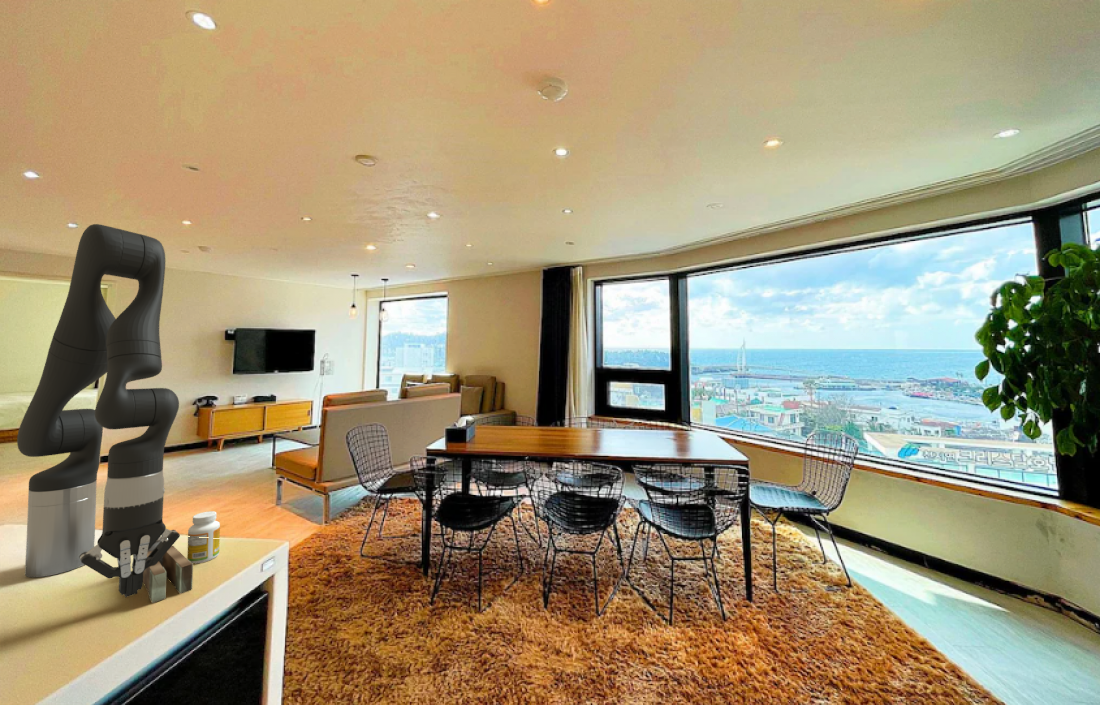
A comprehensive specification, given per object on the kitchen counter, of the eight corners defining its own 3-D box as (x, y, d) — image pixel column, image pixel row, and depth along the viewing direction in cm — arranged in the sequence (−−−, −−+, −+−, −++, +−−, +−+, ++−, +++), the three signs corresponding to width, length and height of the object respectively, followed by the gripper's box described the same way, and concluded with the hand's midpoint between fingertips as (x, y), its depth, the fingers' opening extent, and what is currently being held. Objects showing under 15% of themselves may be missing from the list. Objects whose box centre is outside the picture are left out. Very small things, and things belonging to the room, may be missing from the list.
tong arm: (139, 578, 80) (140, 553, 80) (152, 575, 81) (153, 550, 81) (151, 603, 72) (152, 575, 72) (165, 598, 73) (166, 571, 73)
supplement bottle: (211, 550, 92) (212, 508, 92) (224, 555, 90) (225, 512, 90) (182, 560, 87) (183, 516, 87) (194, 566, 85) (196, 520, 85)
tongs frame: (138, 571, 82) (139, 538, 83) (167, 562, 86) (168, 531, 86) (160, 600, 73) (162, 563, 73) (192, 589, 76) (193, 554, 76)
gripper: (177, 485, 79) (173, 572, 79) (75, 503, 69) (70, 604, 68) (189, 493, 75) (184, 584, 75) (82, 514, 64) (76, 621, 64)
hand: (130, 594), depth 72 cm, fingers closed
